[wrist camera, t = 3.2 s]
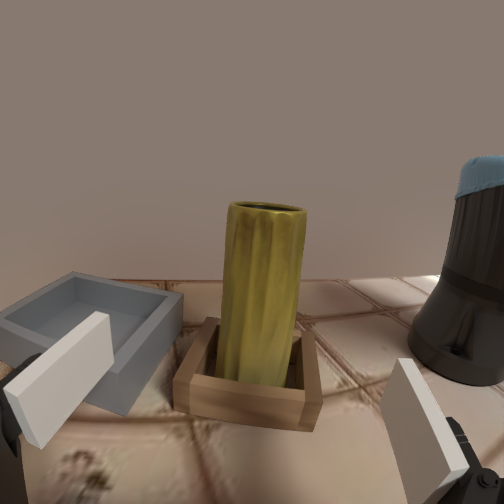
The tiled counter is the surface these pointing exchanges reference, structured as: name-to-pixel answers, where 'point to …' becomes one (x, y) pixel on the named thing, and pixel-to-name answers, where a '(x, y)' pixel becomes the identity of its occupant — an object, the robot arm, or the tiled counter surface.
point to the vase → (260, 291)
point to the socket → (249, 387)
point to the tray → (121, 324)
